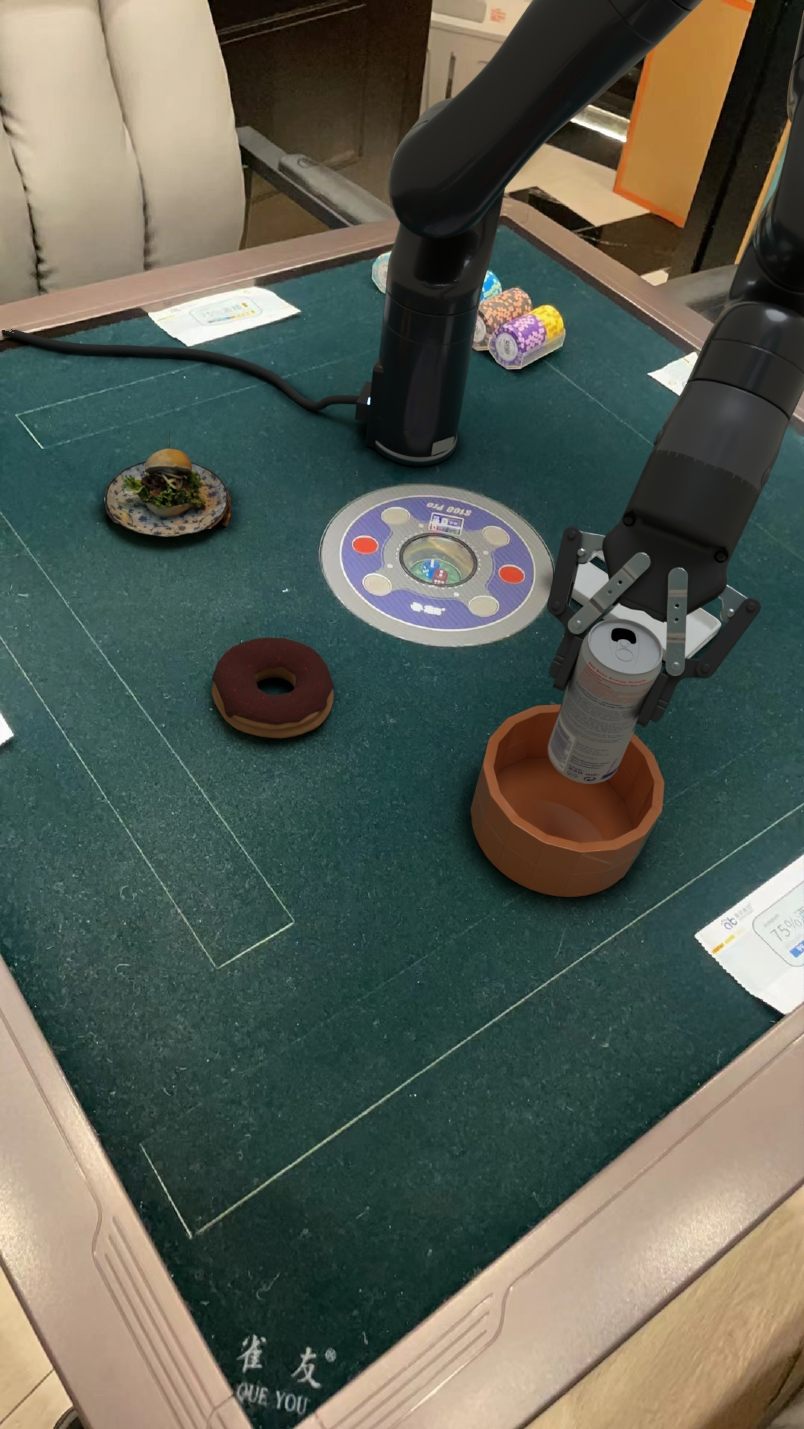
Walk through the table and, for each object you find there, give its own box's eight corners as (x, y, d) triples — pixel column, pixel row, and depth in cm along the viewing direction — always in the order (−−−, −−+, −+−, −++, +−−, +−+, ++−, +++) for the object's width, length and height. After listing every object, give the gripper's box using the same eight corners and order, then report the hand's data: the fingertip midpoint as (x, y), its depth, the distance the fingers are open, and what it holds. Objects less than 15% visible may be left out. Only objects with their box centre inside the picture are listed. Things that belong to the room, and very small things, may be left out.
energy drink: (617, 734, 79) (663, 622, 70) (619, 791, 76) (668, 682, 66) (546, 724, 79) (584, 610, 70) (545, 781, 75) (585, 669, 66)
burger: (81, 524, 100) (70, 460, 94) (146, 458, 107) (140, 395, 101) (193, 566, 98) (189, 503, 92) (252, 496, 105) (252, 433, 99)
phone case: (549, 583, 102) (677, 670, 96) (552, 573, 100) (681, 660, 95) (594, 550, 105) (719, 632, 100) (597, 540, 104) (724, 622, 99)
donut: (350, 679, 91) (353, 648, 88) (306, 762, 85) (308, 732, 82) (243, 643, 92) (242, 611, 89) (192, 723, 86) (190, 691, 83)
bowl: (455, 871, 80) (469, 823, 75) (487, 737, 88) (501, 686, 83) (631, 916, 79) (657, 871, 74) (645, 777, 88) (669, 728, 83)
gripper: (806, 520, 70) (699, 749, 72) (607, 444, 74) (509, 666, 75) (822, 499, 63) (701, 754, 65) (600, 416, 66) (492, 662, 68)
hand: (599, 706), depth 70 cm, fingers closed on energy drink, 5 cm apart
